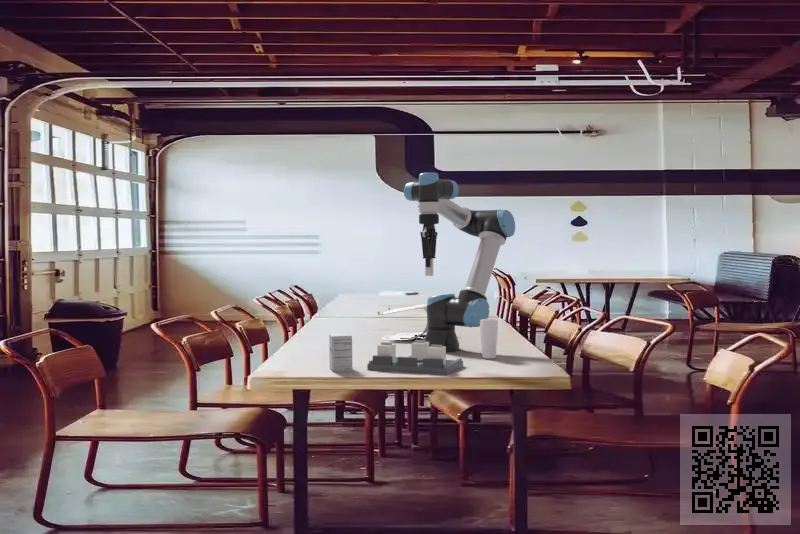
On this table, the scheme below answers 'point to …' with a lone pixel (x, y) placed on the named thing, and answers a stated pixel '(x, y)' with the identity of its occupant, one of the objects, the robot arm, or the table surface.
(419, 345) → the white block with ridge
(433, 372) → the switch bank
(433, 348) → the switch slider
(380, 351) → the white block
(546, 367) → the table surface
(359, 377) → the table surface
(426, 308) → the portable electronic device stand
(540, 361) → the table surface
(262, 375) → the table surface
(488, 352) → the drinking glass
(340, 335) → the supplement box
